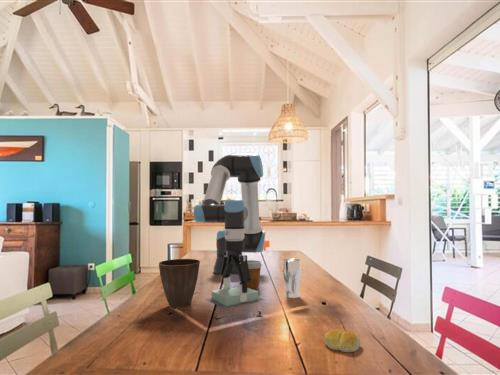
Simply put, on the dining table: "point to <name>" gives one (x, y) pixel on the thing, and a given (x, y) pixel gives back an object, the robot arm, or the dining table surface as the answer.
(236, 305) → the rubber mat
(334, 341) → the bread roll
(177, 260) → the plant pot
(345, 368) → the dining table surface
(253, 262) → the disposable coffee cup
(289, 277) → the beer glass
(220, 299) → the board
